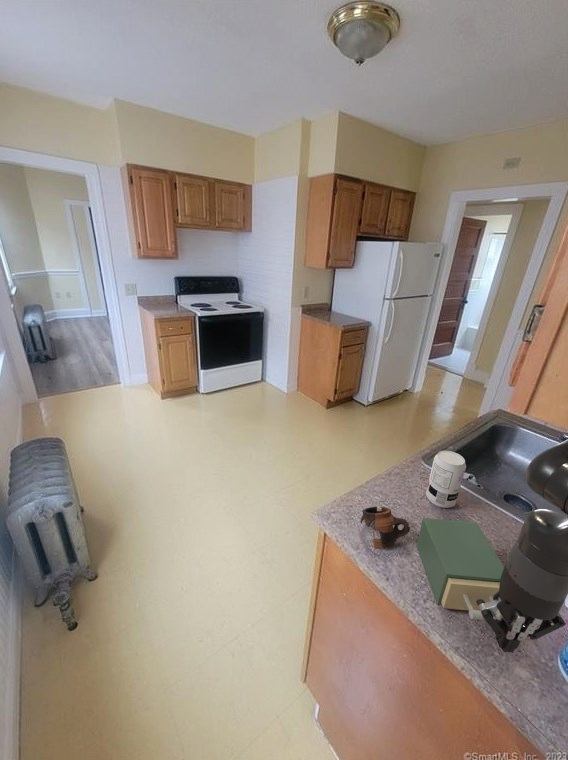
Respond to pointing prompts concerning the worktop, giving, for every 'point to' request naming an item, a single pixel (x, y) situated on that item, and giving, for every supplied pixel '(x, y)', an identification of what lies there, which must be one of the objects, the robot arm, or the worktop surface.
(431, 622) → the worktop surface
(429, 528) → the cabinet
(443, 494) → the supplement can
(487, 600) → the drawer
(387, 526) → the pottery mug
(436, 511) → the worktop surface
